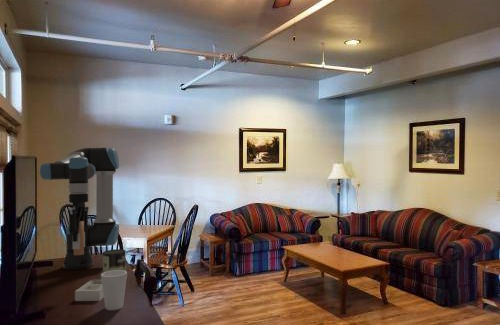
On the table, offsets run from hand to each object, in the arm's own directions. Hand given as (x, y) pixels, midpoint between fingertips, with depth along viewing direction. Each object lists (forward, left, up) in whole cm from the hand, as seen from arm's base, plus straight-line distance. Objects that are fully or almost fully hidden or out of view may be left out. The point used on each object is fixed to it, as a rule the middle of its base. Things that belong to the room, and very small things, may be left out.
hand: (78, 247), depth 163 cm
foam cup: (+17, +21, -20) cm, 33 cm away
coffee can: (-16, +9, -20) cm, 27 cm away
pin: (0, 0, -3) cm, 3 cm away
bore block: (+2, +8, -19) cm, 21 cm away
